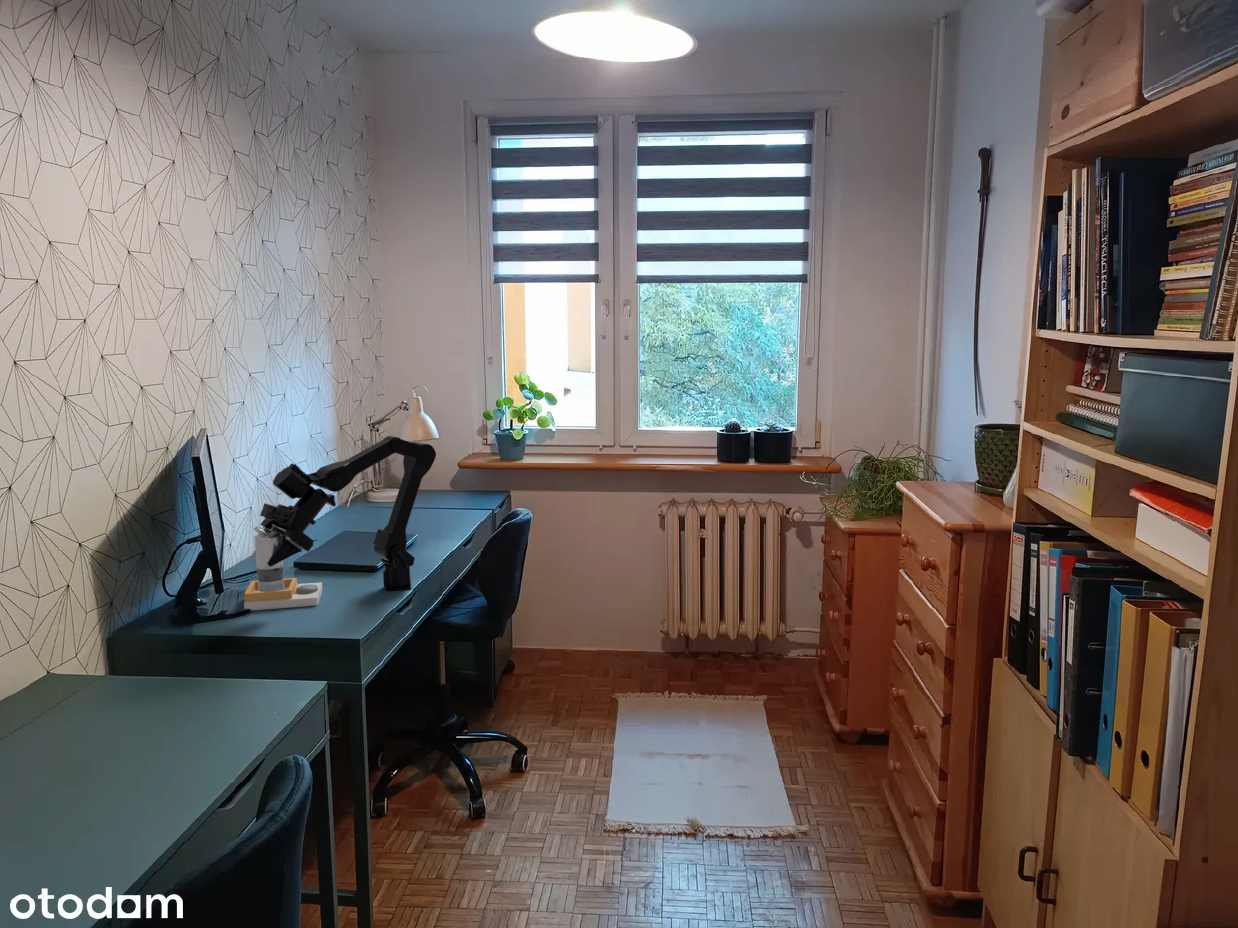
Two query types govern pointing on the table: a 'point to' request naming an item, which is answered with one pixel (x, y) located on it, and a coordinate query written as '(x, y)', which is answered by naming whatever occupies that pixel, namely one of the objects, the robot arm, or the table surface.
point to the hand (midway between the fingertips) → (263, 562)
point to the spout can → (267, 576)
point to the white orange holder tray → (283, 595)
